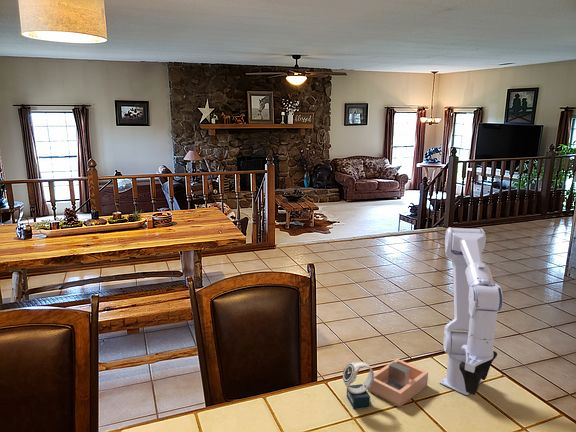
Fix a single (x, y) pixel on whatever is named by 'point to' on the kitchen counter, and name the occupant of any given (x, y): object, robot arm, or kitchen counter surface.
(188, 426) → the kitchen counter surface
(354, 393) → the watch
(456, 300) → the robot arm
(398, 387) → the grey metal t-piece
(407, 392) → the salmon pink open box
